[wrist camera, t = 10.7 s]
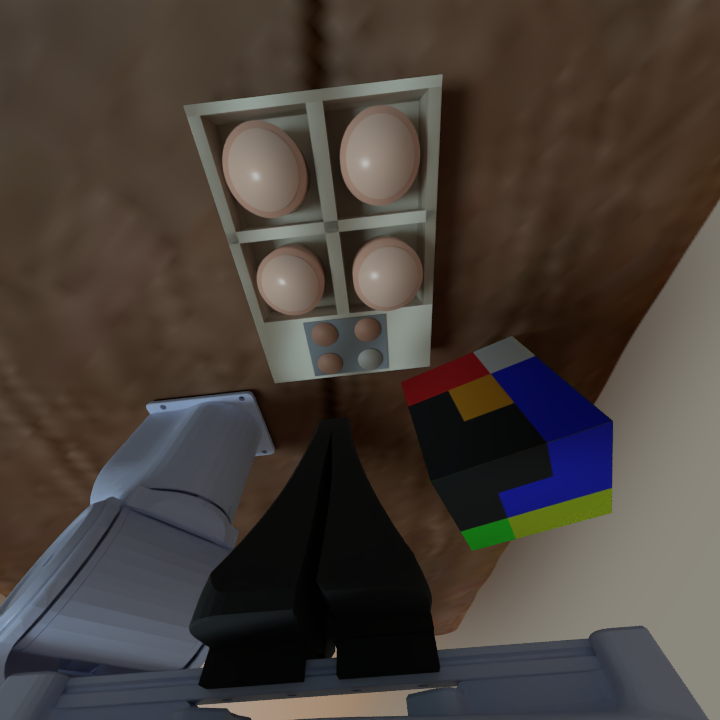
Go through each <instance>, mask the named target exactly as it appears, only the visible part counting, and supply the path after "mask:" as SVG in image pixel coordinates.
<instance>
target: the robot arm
mask: <svg viewBox="0 0 720 720" xmlns="http://www.w3.org/2000/svg"><path fill="white" fill-rule="evenodd" d="M241 396H242V397H244V398H241ZM146 408H147V410H148V411H149V413H150V415H149V416H148V417H147V418H146V419H145V421H144V422H143V423H142V424H141V425H140V426H139V427H138V428H137V430H136V431H135V432H134V433H133V434H132V435H131V436H130V438H129V439H128V440H127V441H126V442H125V443H124V444H123V445H122V447H121V448H120V449H119V450H118V451H117V452H116V453H115V454H114V456H113V457H112V458H111V459H110V460H109V461H108V462H107V463H106V465H105V466H104V467H103V469H102V470H101V472H100V473H99V475H98V477H97V479H96V481H95V483H94V486H93V490H92V493H91V499H90V506H89V507H88V508H87V509H85V510H84V511H83V512H82V513H81V514H80V515H79V516H78V517H77V518H76V519H75V520H74V521H73V522H72V523H71V524H70V525H69V526H68V527H67V528H66V529H65V531H64V532H63V533H62V534H61V535H60V536H59V537H58V538H57V539H56V540H55V541H54V543H53V544H52V545H51V546H50V547H49V548H48V549H47V550H46V551H45V553H44V554H43V555H42V556H41V557H40V558H39V559H38V561H37V562H36V563H35V564H34V565H33V566H32V568H31V569H30V570H29V571H28V572H27V574H26V575H25V576H24V577H23V578H22V580H21V581H20V582H19V583H18V584H17V586H16V587H15V588H14V589H13V591H12V592H11V593H10V594H9V596H8V597H7V598H6V599H5V601H4V602H3V603H2V604H1V606H0V720H251V718H249V717H244V716H238V715H236V714H233V713H231V712H230V711H228V709H226V708H198V706H197V705H203V704H217V703H230V702H245V701H257V700H272V699H286V698H299V697H313V696H328V695H341V694H355V693H369V692H383V691H396V690H411V689H424V688H436V689H431V690H427V691H423V692H418V693H413V694H409V695H408V696H407V698H406V700H407V709H408V716H385V717H341V718H316V719H297V720H709V719H708V718H707V716H706V715H705V713H704V712H703V710H702V709H701V707H700V706H699V704H698V703H697V702H696V700H695V699H694V698H693V696H692V694H691V693H690V691H689V690H688V688H687V687H686V685H685V684H684V682H683V681H682V679H681V678H680V676H679V675H678V674H677V672H676V671H675V669H674V668H673V666H672V665H671V663H670V662H669V660H668V659H667V657H666V656H665V655H664V653H663V652H662V650H661V649H660V647H659V646H658V644H657V643H656V641H655V640H654V638H653V637H652V635H651V634H650V632H649V631H648V630H647V628H645V627H643V626H634V627H619V628H607V629H602V630H598V631H595V632H593V633H592V634H591V635H590V636H589V639H578V640H565V641H564V640H563V641H552V642H551V641H550V642H537V643H524V644H511V645H498V646H484V647H472V648H459V649H444V650H437V647H436V641H435V636H434V626H433V621H432V616H431V605H432V596H431V592H430V589H429V586H428V583H427V581H426V579H425V577H424V574H423V572H422V570H421V568H420V566H419V564H418V562H417V560H416V558H415V556H414V554H413V552H412V551H411V549H410V548H409V547H408V545H407V544H406V542H405V541H404V540H403V538H402V537H401V535H400V534H399V532H398V531H397V529H396V528H395V526H394V525H393V523H392V522H391V520H390V518H389V517H388V515H387V513H386V512H385V510H384V508H383V507H382V505H381V503H380V502H379V500H378V498H377V496H376V494H375V493H374V491H373V489H372V487H371V485H370V483H369V481H368V479H367V477H366V474H365V472H364V470H363V467H362V465H361V463H360V460H359V458H358V455H357V452H356V449H355V446H354V443H353V437H352V431H351V425H350V419H349V418H347V417H345V418H335V419H324V420H320V421H319V423H318V426H317V428H316V431H315V433H314V435H313V437H312V440H311V442H310V444H309V446H308V448H307V450H306V452H305V453H304V455H303V457H302V459H301V461H300V463H299V464H298V466H297V468H296V469H295V471H294V473H293V475H292V476H291V478H290V479H289V481H288V483H287V484H286V486H285V487H284V489H283V490H282V491H281V493H280V494H279V496H278V497H277V498H276V500H275V501H274V502H273V504H272V505H271V506H270V508H269V509H268V510H267V512H266V513H265V514H264V515H263V517H262V518H261V519H260V520H259V522H258V523H257V524H256V525H255V526H254V527H253V528H252V530H251V531H250V532H249V533H248V534H247V535H246V537H245V538H244V539H243V540H242V541H241V542H240V543H239V544H238V545H237V546H236V547H234V546H235V543H236V540H237V537H238V534H239V530H238V529H236V528H234V527H233V526H232V522H233V519H234V516H235V513H236V511H237V508H238V505H239V502H240V499H241V496H242V493H243V490H244V487H245V484H246V481H247V478H248V476H249V473H250V470H251V467H252V464H253V461H254V458H255V456H260V455H269V454H273V453H274V452H275V447H274V444H273V442H272V439H271V437H270V434H269V432H268V429H267V427H266V424H265V421H264V419H263V416H262V414H261V411H260V409H259V406H258V403H257V401H256V398H255V396H254V394H253V393H252V392H250V391H244V392H235V393H226V394H217V395H208V396H199V397H190V398H180V399H171V400H162V401H153V402H149V403H148V404H147V406H146ZM335 646H336V648H337V658H332V656H333V654H334V652H335ZM204 662H205V664H204V667H203V668H200V667H201V666H202V665H203V663H204ZM452 686H457V688H452ZM438 687H444V688H438Z"/></svg>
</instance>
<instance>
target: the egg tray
mask: <svg viewBox="0 0 720 720" xmlns="http://www.w3.org/2000/svg"><path fill="white" fill-rule="evenodd" d="M441 96H442V74H441V75H433V76H425V77H416V78H408V79H400V80H392V81H383V82H375V83H367V84H358V85H350V86H342V87H334V88H325V89H317V90H309V91H301V92H292V93H284V94H276V95H268V96H259V97H251V98H243V99H234V100H226V101H218V102H210V103H201V104H193V105H185V106H184V109H185V112H186V115H187V118H188V121H189V124H190V127H191V130H192V133H193V136H194V139H195V143H196V146H197V149H198V152H199V155H200V158H201V161H202V164H203V167H204V170H205V173H206V176H207V179H208V182H209V185H210V188H211V191H212V194H213V197H214V200H215V203H216V206H217V209H218V212H219V215H220V218H221V221H222V224H223V227H224V230H225V234H226V237H227V240H228V243H229V246H230V249H231V252H232V255H233V258H234V261H235V264H236V267H237V270H238V273H239V276H240V279H241V282H242V285H243V288H244V291H245V294H246V297H247V300H248V303H249V306H250V309H251V312H252V315H253V318H254V322H255V325H256V328H257V331H258V334H259V337H260V340H261V343H262V346H263V349H264V352H265V355H266V358H267V361H268V364H269V367H270V370H271V373H272V376H273V379H274V382H275V383H282V382H291V381H300V380H309V379H318V378H327V377H336V376H345V375H355V374H364V373H373V372H382V371H391V370H400V369H409V368H418V367H428V366H430V347H431V324H432V302H433V279H434V256H435V233H436V210H437V187H438V164H439V141H440V119H441ZM377 105H386V106H391V107H394V108H396V109H398V110H399V111H401V112H402V113H403V114H405V115H406V116H407V118H408V119H409V120H410V121H411V123H412V124H413V126H414V128H415V130H416V133H417V135H418V139H419V144H420V163H419V168H418V172H417V175H416V177H415V180H414V182H413V184H412V185H411V187H410V188H409V190H408V191H407V192H406V193H405V194H404V195H403V196H402V197H401V198H399V199H398V200H397V201H395V202H393V203H390V204H387V205H381V206H376V205H370V204H367V203H365V202H362V201H360V200H359V199H357V198H356V197H355V196H354V195H353V194H352V193H351V192H350V191H349V189H348V188H347V186H346V184H345V182H344V180H343V176H342V172H341V166H340V148H341V143H342V139H343V136H344V134H345V131H346V129H347V127H348V126H349V124H350V123H351V121H352V120H353V119H354V118H355V117H356V116H357V115H358V114H359V113H360V112H362V111H363V110H365V109H367V108H369V107H372V106H377ZM251 120H260V121H266V122H269V123H271V124H273V125H275V126H277V127H279V128H280V129H281V130H283V131H284V132H285V133H286V134H287V135H288V136H289V137H290V138H291V139H292V140H293V141H294V142H295V143H296V144H297V146H298V147H299V148H300V150H301V151H302V153H303V155H304V157H305V159H306V161H307V164H308V168H309V174H310V185H309V191H308V194H307V197H306V199H305V201H304V202H303V204H302V205H301V206H300V207H299V208H298V209H297V210H296V211H294V212H292V213H290V214H287V215H284V216H281V217H277V218H265V217H261V216H258V215H255V214H253V213H252V212H250V211H248V210H247V209H246V208H244V207H243V206H242V205H241V204H240V203H239V202H238V201H237V199H236V198H235V197H234V196H233V194H232V192H231V191H230V189H229V187H228V185H227V182H226V179H225V176H224V172H223V165H222V156H223V149H224V145H225V143H226V140H227V138H228V136H229V135H230V133H231V132H232V131H233V130H234V129H235V128H236V127H237V126H239V125H240V124H242V123H244V122H247V121H251ZM380 235H390V236H394V237H397V238H399V239H400V240H402V241H403V242H405V243H406V244H407V245H408V246H410V247H411V248H412V249H413V250H414V251H415V252H416V254H417V255H418V257H419V259H420V261H421V264H422V269H423V278H422V283H421V286H420V288H419V291H418V292H417V294H416V295H415V297H414V298H413V299H412V300H411V301H410V302H409V303H408V304H406V305H405V306H403V307H401V308H399V309H396V310H392V311H379V310H375V309H373V308H371V307H369V306H367V305H366V304H365V303H364V302H362V300H361V299H360V298H359V296H358V295H357V293H356V291H355V288H354V283H353V274H352V264H353V260H354V257H355V254H356V252H357V251H358V249H359V248H360V247H361V246H362V245H363V244H364V243H365V242H366V241H367V240H369V239H371V238H373V237H376V236H380ZM290 243H295V244H301V245H304V246H306V247H308V248H310V249H311V250H313V251H314V252H315V253H316V254H317V255H318V256H319V258H320V259H321V261H322V263H323V265H324V267H325V272H326V282H325V287H324V291H323V295H322V298H321V300H320V302H319V303H318V305H317V306H316V307H315V308H314V309H312V310H311V311H309V312H307V313H305V314H301V315H287V314H283V313H281V312H278V311H276V310H275V309H273V308H272V307H271V306H269V305H268V304H267V303H266V301H265V300H264V299H263V297H262V296H261V294H260V292H259V289H258V285H257V271H258V268H259V266H260V264H261V262H262V261H263V259H264V258H265V257H266V256H268V255H269V254H270V253H271V252H273V251H274V250H275V249H277V248H278V247H280V246H282V245H285V244H290Z"/></svg>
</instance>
